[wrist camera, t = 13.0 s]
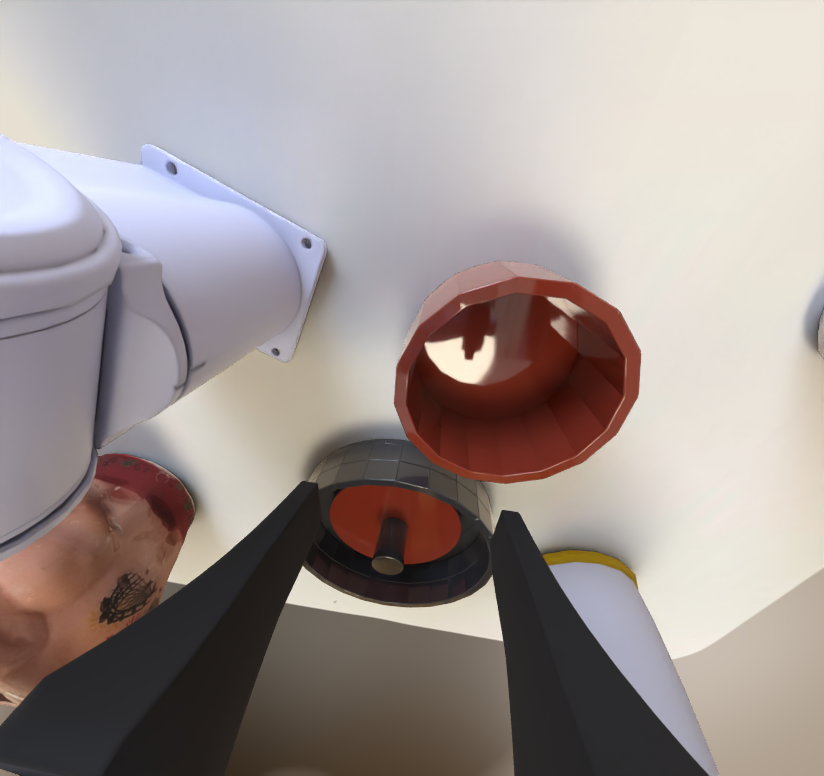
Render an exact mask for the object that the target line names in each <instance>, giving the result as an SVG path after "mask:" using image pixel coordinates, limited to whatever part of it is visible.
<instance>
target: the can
mask: <svg viewBox="0 0 824 776" xmlns="http://www.w3.org/2000/svg"><path fill="white" fill-rule="evenodd" d="M818 351H819V353H820V354H821V356H822V357H823V359H824V311H823V313H822V315H821V318H820V320H819V331H818Z"/></svg>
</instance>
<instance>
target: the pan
mask: <svg viewBox="0 0 824 776" xmlns="http://www.w3.org/2000/svg"><path fill="white" fill-rule="evenodd" d="M308 482H314V483H318V487H319V496H320V505H321V513H322V518H321V521H320V524H319V527H318V530H317V533H316V535H315V538H314V541H313V544H312V546H311V548H310V551H309V553H308V555H307V557H306V559H305V561H304V564H303V566H304V567H305V569H307V570H308V571H309V572H310V573H312V574H313V575H314V576H316V577H317V578H318V579H319V580H321V581H322V582H324V583H325V584H327V585H329V586H331V587H333V588H335V589H337V590H338V591H340V592H342V593H345V594H348V595H351V596H353V597H356V598H359V599H361V600H364V601H369V602H373V603H378V604H382V605H388V606H398V607H432V606H437V605H442V604H448V603H452V602H455V601H458V600H460V599H463V598H465V597H468V596H470V595H472V594H473V593H475V592H476V591H478V590H479V589H480V588H482V587H483V586H485V585H486V583H487V582H488V581H489V579H490V578H491V576H492V575H493V574H492V562H491V545H490V542H491V539H492V536H493V534H494V531H495V529H494V522H493V516H492V511H491V507H490V502H489V498H488V495H487V493H486V490H485V489H484V487H483V485H482V483H481V482H480V481H479V480H473V479H467V478H463V477H461V476H459V475H457V474H455V473H453V472H451V471H448V470H446V469H444V468H442V467H440V466H438V465H436V464H433V462H431V461H430V460H429V459H428V458H427V457H426V456H425V455H424V454H423V453H422V452H421V451H420V450H419V449H418V448H417V447H416V446H415V445H414V444H413V443H412V442H409V441H403V440H391V439H382V440H369V441H362V442H358V443H354V444H350V445H348V446H345V447H343V448H340V449H338V450H337V451H335V452H333V453H331V454H330V455H329V456H327V457H326V458H325V459H323V460H322V461H321V463H320V464H319V465H318V466H317V467H316V469H315V470H314V471H313V473H312V475H311V476H310V478H309V480H308ZM363 485H373V486H392V487H399V488H403V489H407V490H411V491H416V492H420V493H424V494H427V495H429V496H431V497H433V498H436V499H438V500H440V501H442V502H445V503H447V504H449V505H451V506H453V507H454V508H456V509H457V510H458V512H459V515H460V518H461V535H460V538H459V540H458V542H457V544H456V545H455V547H454V548H453V549H452V550H451V551H449V552H448V553H447V554H445V555H444V556H442V557H440V558H437V559H435V560H432V561H428V562H424V563H417V564H404V567H403V570H402V571H401V572H400V573H398V574H395V575H387V574H382V573H380V572H378V571H376V570H375V569H374V568H373V566H372V559H373V558H371V557H368V556H366V555H363V554H361V553H359V552H358V551H356V550H354V549H353V548H351V547H350V546H348V545H347V544H346V543H345V542H344V541H343V540H342V539H341V538H340V537H339V536H338V535H337V533H336V532H335V530H334V528H333V527H332V524H331V521H330V507H331V503H332V501H333V499H334V497H335V495H336V494H337V492H338V491H339V490H340V489H343V488H350V487H356V486H363Z"/></svg>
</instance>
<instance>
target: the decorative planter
mask: <svg viewBox="0 0 824 776" xmlns="http://www.w3.org/2000/svg"><path fill="white" fill-rule="evenodd" d="M194 516H195V508H194V502H193V500H192V498H191V496H190V495H189V493H188V491H187V490H186V488H185V486H184V485H183V484H182V482H181V481H180V480H179V479H178V478H177V477H176V476H175V475H173V474H172V473H171V472H169V471H168V470H166V469H165V468H163V467H162V466H160V465H157V464H156V463H154V462H151V461H149V460H145V459H141V458H138V457H135V456H131V455H126V454H106V455H102V456H99V457H97V465H96V473H95V476H94V479H93V481H92V484H91V486H90V488H89V490H88V491H87V493H86V494H85V496H84V497H83V499H82V500H81V502H80V503H79V504H78V505H77V506H76V507H75V508H74V509H73V510H72V512H71V513H70V514H69V515H68V516H67V517H66V518H65V519H64V520H63V521H61V522H60V523H59V524H58V525H57V526H55V527H54V528H53V529H52V530H51V531H49V532H48V533H47V534H46V535H44V536H43V537H41V538H40V539H38V540H37V541H35V542H34V543H32V544H31V545H29V546H28V547H26V548H25V549H23V550H21V551H19V552H18V553H16V554H14V555H12V556H10V557H8V558H7V559H5V560H3V561H1V562H0V704H1V705H8V706H13V707H16V708H17V706H18V705H19V704H20V703H21V702H22V701H23V700H24V698H25V697H26V696H27V695H28V694H29V693H30V692H31V691H32V690H33V689H34V688H35V687H36V686H37V685H38V684H39V682H40V681H41V680H42V679H43V678H44V677H46V676H47V675H49V674H50V673H52V672H54V671H56V670H57V669H59V668H61V667H62V666H64V665H66V664H67V663H69V662H71V661H72V660H74V659H76V658H77V657H79V656H80V655H82V654H84V653H85V652H87V651H89V650H90V649H92V648H94V647H95V646H97V645H99V644H100V643H102V642H104V641H105V640H107V639H108V638H110V637H112V636H113V635H115V634H116V633H118V632H119V631H121V630H122V629H124V628H125V627H127V626H128V625H130V624H131V623H133V622H134V621H136V620H137V619H139V618H140V617H142V616H143V615H145V614H146V613H148V612H149V611H151V610H152V609H154V608H155V607H157V606H158V605H159V602H160V599H161V596H162V593H163V591H164V588H165V585H166V582H167V580H168V577H169V575H170V572H171V570H172V568H173V566H174V564H175V562H176V560H177V557H178V554H179V552H180V550H181V547H182V545H183V543H184V540H185V537H186V534H187V531H188V529H189V527H190V525H191V524H192V522H193V520H194Z"/></svg>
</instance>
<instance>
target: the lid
mask: <svg viewBox="0 0 824 776" xmlns="http://www.w3.org/2000/svg"><path fill="white" fill-rule="evenodd" d="M330 521H331V524H332V527H333V528H334V530H335V532H336V533H337V535H338V536H339V537H340V538H341V539H342V540H343V541H344V542H345V543H346V544H347V545H348V546H350V547H351V548H353V549H354V550H356V551H358V552H359V553H361V554H363V555H366V556H368V557H371V558H373V559H372V566H373V568H374V569H375V570H376V571H378V572H380V573H382V574H387V575H395V574H398V573H400V572H401V571H402V570H403V567H404V564H417V563H424V562H428V561H432V560H435V559H437V558H440V557H442V556H444V555H445V554H447V553H448V552H449V551H451V550H452V549H453V548H454V547H455V545H456V544H457V542H458V540H459V538H460V535H461V518H460V515H459V512H458V510H457V509H456V508H454V507H453V506H451V505H449V504H447V503H445V502H442V501H440V500H438V499H436V498H433V497H431V496H429V495H427V494H424V493H420V492H416V491H411V490H407V489H403V488H399V487H392V486H373V485H363V486H356V487H350V488H343V489H340V490H339V491H338V492H337V494H336V495H335V497H334V499H333V501H332V503H331V507H330Z"/></svg>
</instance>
